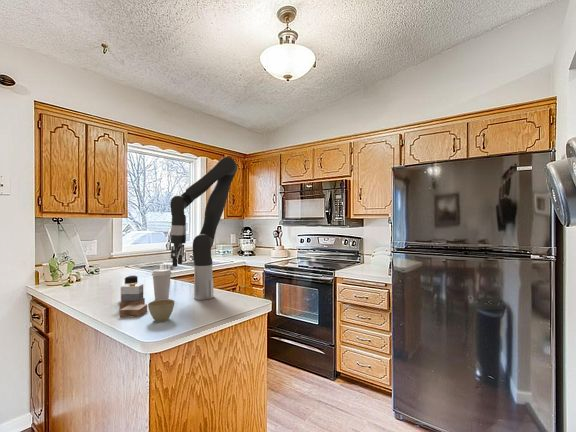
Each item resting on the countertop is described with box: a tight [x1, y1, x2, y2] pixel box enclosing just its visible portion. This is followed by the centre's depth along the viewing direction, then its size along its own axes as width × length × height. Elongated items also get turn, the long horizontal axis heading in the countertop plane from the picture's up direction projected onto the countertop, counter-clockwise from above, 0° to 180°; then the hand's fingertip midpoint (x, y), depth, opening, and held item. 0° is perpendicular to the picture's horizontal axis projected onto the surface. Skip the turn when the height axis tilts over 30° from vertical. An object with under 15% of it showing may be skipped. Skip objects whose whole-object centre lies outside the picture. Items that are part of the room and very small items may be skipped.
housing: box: [120, 283, 144, 302], centre depth 147 cm, size 8×5×8 cm, turn 93°
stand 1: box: [119, 297, 146, 310], centre depth 147 cm, size 8×8×3 cm
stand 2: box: [119, 303, 148, 318], centre depth 135 cm, size 8×8×3 cm
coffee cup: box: [151, 268, 172, 301], centre depth 160 cm, size 10×10×15 cm
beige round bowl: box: [147, 299, 175, 323], centre depth 127 cm, size 10×10×7 cm
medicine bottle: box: [119, 275, 139, 290], centre depth 160 cm, size 7×7×12 cm
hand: (177, 265), depth 161 cm, fingers open, 8 cm apart
